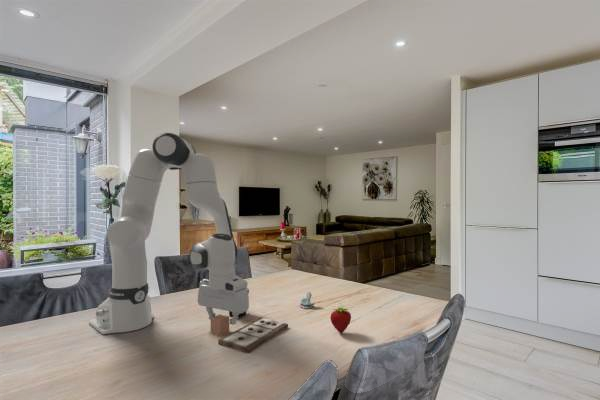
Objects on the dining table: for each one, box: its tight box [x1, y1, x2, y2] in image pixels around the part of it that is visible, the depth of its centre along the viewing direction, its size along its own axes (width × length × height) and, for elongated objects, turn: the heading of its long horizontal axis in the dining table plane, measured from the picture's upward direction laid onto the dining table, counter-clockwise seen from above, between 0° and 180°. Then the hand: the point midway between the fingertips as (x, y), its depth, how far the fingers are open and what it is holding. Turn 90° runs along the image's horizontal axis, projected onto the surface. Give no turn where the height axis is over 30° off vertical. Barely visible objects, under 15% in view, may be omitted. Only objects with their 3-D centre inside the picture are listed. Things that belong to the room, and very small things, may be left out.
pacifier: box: [298, 291, 316, 309], centre depth 134 cm, size 7×6×6 cm
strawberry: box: [329, 302, 352, 334], centre depth 107 cm, size 6×8×10 cm
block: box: [210, 313, 230, 337], centre depth 107 cm, size 4×4×5 cm
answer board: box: [218, 317, 289, 354], centre depth 105 cm, size 12×22×2 cm, turn 151°
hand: (222, 321), depth 108 cm, fingers open, 8 cm apart
